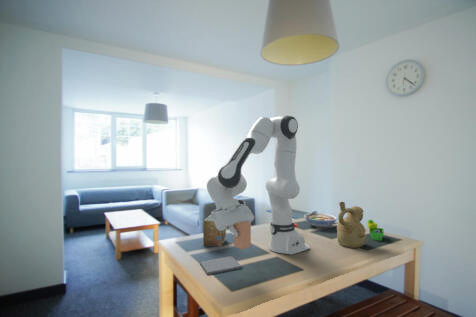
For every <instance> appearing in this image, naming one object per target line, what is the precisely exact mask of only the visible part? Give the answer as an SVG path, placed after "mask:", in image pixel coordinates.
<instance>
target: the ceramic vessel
mask: <svg viewBox="0 0 476 317" xmlns="http://www.w3.org/2000/svg"><path fill="white" fill-rule="evenodd" d="M338 205H339V209H340V210H339V213H338V216H337V219H338V223H337V225H336V231H337V232H336V237H337V242H338V244H339V245H341V246H343V247H345V248H351V249H358V248H361V247H363V246H364V245H365V244H366V242H367V237H366V228H365V226H364V225H363V224H362V220H363V218H364V209H363V208H362V207H361V206H358V205H357V206H356V205H354V206H352V207H347V208H346V202H345V201H339V202H338ZM345 214H347V215H346V216H345ZM344 216H345V218H344Z"/></svg>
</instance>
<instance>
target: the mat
mask: <svg viewBox="0 0 476 317" xmlns="http://www.w3.org/2000/svg"><path fill="white" fill-rule="evenodd" d="M199 265H200V266H201V268H202V269H203V271H204V272H205V274H206V275H207V276H208V275H213V274H218V273H223V272H228V271H234V270H238V269H239V270H240V269H242V268H243V267H242V266H243V265H242V264H241V263H239V261H237V259H235V258H234V257H233V256H232V255H230V256H225V257H219V258H218V257H217V258H215V259H214V258H213V259H208V260H201V261H199Z"/></svg>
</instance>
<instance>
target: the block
mask: <svg viewBox="0 0 476 317" xmlns="http://www.w3.org/2000/svg"><path fill="white" fill-rule="evenodd" d="M251 228H252V222H251V223H250V222H246V221H242V222H238V223H235V224H234V229H235V230H237V231H239V233H240V235H239V236H236V237H235V235H234V234H233V247H235V248H237V249H239V250H245V249H247V248H251V247H252V246H251V245H252V244H251V243H252V242H251V240H252V239H251V237H252V234H251V233H252V230H251Z"/></svg>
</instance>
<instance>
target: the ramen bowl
mask: <svg viewBox="0 0 476 317" xmlns="http://www.w3.org/2000/svg"><path fill="white" fill-rule="evenodd" d="M303 217H304V218H305V220H306V221H307V222H308V223H309V224H310V225H311V226H314V227H315V228H318V229H325V228H327V227H330V226H332V225H335V223H336V222H337V219H338V216H336V215H332V214H329V213H322V212H321V213H319V212H318V210H317V211H315V210H314V211H312V212H310V213H305V214H304V215H303Z"/></svg>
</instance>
